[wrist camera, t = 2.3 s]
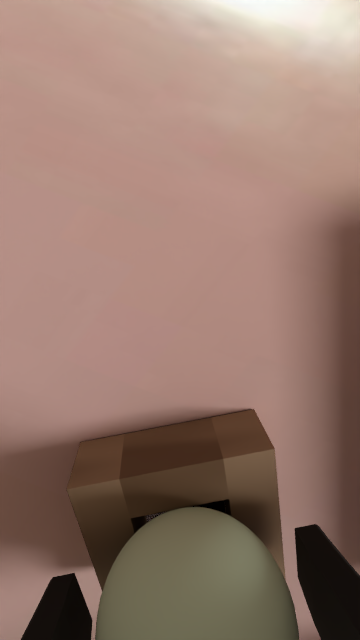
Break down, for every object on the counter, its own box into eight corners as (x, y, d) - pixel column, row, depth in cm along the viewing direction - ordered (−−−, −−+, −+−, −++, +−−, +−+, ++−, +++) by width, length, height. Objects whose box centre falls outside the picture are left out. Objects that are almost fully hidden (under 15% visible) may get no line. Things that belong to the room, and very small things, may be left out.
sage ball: (266, 567, 12) (344, 807, 7) (126, 595, 12) (110, 861, 7) (253, 453, 10) (344, 667, 5) (91, 485, 10) (38, 734, 5)
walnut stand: (267, 535, 13) (286, 589, 11) (119, 565, 13) (114, 624, 11) (253, 409, 11) (274, 449, 10) (80, 442, 11) (66, 489, 9)
